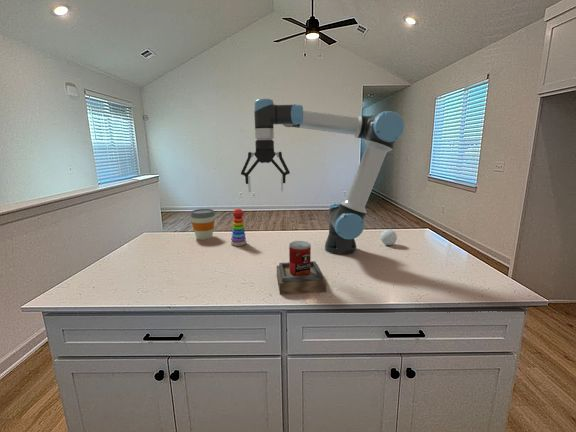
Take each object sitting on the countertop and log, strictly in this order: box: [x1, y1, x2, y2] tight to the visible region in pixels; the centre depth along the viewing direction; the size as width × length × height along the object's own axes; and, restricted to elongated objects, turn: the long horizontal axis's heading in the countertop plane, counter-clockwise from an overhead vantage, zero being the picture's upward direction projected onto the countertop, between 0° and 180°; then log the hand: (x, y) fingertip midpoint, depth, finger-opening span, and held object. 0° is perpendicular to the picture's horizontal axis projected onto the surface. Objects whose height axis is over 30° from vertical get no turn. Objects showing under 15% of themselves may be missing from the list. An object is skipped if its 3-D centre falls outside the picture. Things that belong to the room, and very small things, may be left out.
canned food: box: [288, 240, 312, 276], centre depth 110 cm, size 8×8×11 cm
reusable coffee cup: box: [190, 208, 215, 240], centre depth 169 cm, size 13×12×15 cm
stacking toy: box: [230, 208, 247, 247], centre depth 156 cm, size 8×8×19 cm
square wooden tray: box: [276, 260, 327, 295], centre depth 111 cm, size 16×16×6 cm
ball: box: [380, 229, 398, 246], centre depth 154 cm, size 8×8×8 cm
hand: (265, 191), depth 129 cm, fingers open, 13 cm apart
